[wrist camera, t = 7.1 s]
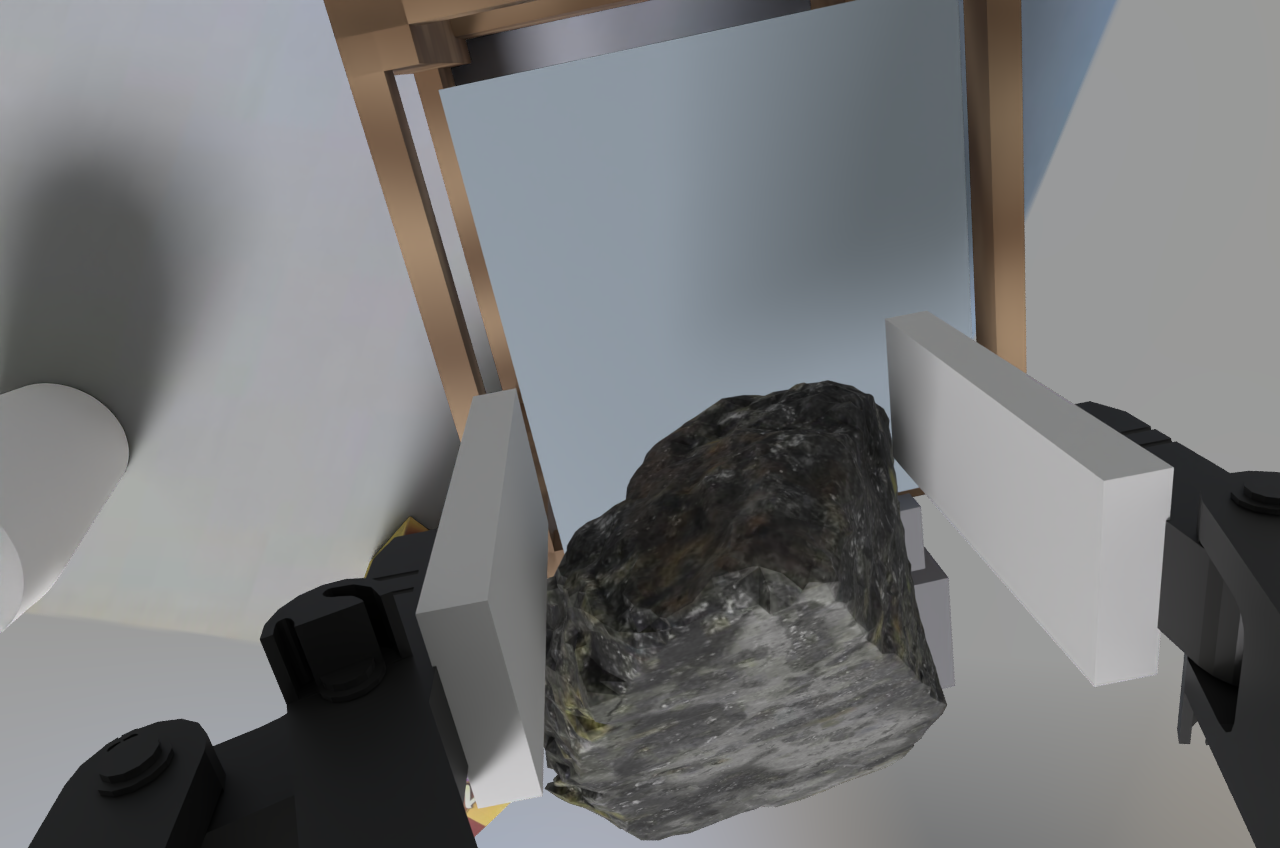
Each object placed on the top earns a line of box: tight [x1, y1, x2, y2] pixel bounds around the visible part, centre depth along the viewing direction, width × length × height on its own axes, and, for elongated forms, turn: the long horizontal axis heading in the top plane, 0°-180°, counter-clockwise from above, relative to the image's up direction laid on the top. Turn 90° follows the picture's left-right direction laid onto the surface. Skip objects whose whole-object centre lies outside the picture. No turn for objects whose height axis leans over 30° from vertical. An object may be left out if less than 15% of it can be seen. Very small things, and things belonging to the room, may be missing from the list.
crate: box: [324, 0, 1026, 578], centre depth 35 cm, size 19×19×18 cm
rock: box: [544, 380, 947, 840], centre depth 17 cm, size 9×11×6 cm
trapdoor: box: [439, 0, 972, 689], centre depth 30 cm, size 24×14×6 cm, turn 11°
